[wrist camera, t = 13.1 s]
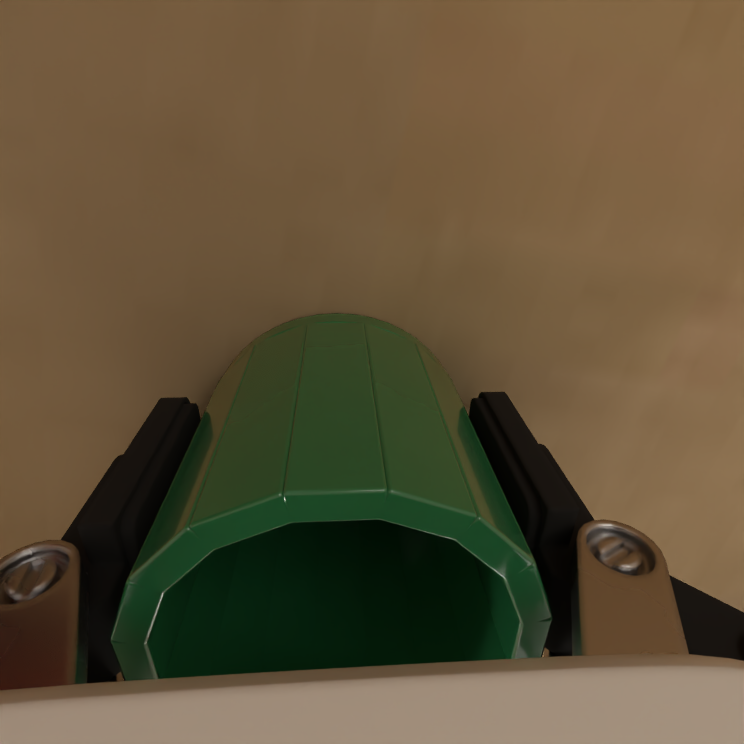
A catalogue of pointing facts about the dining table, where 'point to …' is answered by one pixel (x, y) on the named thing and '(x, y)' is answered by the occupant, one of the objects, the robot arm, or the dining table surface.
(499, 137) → the dining table surface
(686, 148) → the dining table surface
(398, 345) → the pot
